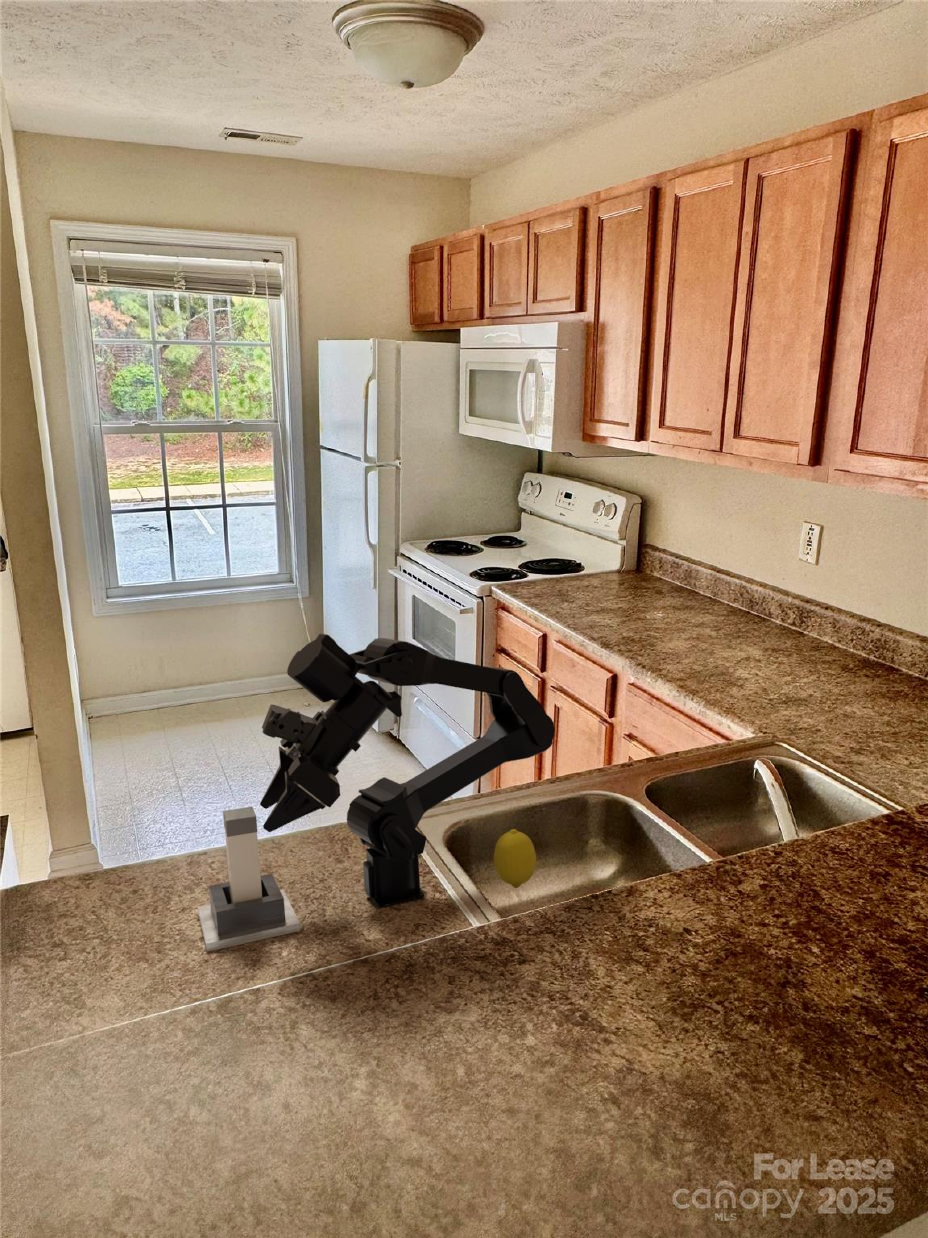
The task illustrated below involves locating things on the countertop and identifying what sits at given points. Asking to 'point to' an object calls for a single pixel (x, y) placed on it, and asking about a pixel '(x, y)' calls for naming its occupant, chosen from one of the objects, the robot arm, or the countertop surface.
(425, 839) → the robot arm
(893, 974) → the countertop surface
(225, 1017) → the countertop surface
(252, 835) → the plug block
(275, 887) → the socket plate
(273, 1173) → the countertop surface
